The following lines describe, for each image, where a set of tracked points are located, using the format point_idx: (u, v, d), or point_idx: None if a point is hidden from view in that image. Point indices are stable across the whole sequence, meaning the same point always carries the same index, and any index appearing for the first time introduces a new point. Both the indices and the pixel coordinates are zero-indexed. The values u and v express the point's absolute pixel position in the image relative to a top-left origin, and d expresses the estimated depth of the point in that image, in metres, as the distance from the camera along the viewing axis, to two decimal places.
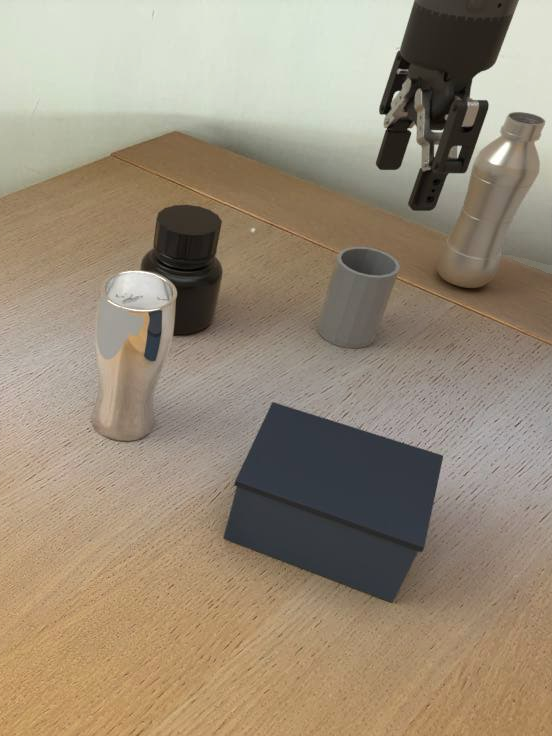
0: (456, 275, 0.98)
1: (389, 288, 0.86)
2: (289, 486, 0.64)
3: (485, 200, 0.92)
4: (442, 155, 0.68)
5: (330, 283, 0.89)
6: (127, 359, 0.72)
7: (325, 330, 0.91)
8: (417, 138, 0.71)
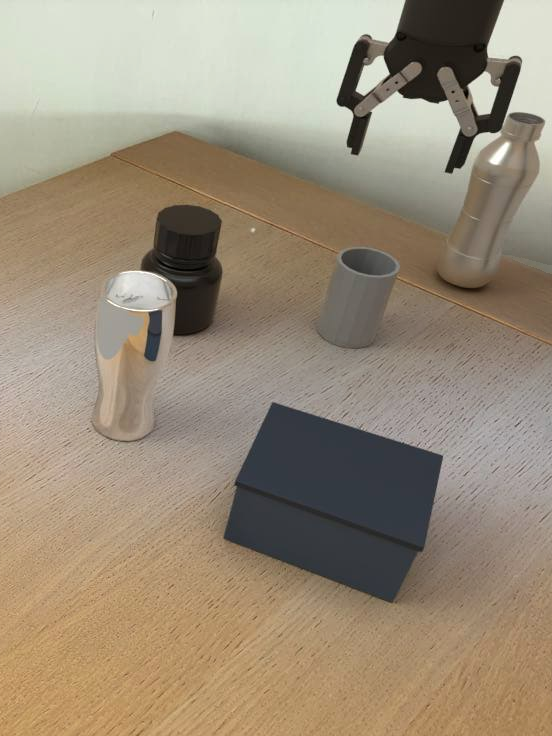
0: (456, 275, 0.98)
1: (389, 288, 0.86)
2: (289, 486, 0.64)
3: (485, 200, 0.92)
4: None
5: (330, 283, 0.89)
6: (127, 359, 0.72)
7: (325, 330, 0.91)
8: (454, 111, 0.73)
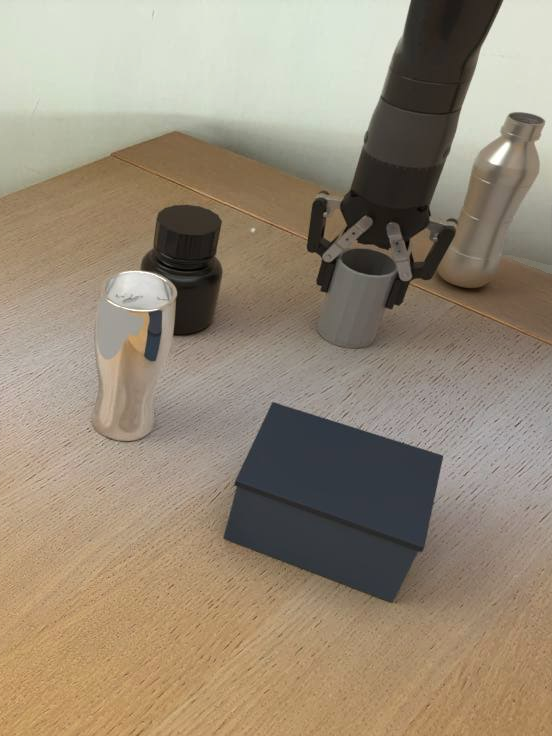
0: (456, 275, 0.98)
1: (389, 288, 0.86)
2: (289, 486, 0.64)
3: (485, 200, 0.92)
4: (437, 267, 0.82)
5: (330, 283, 0.89)
6: (127, 359, 0.72)
7: (325, 330, 0.91)
8: (395, 259, 0.83)
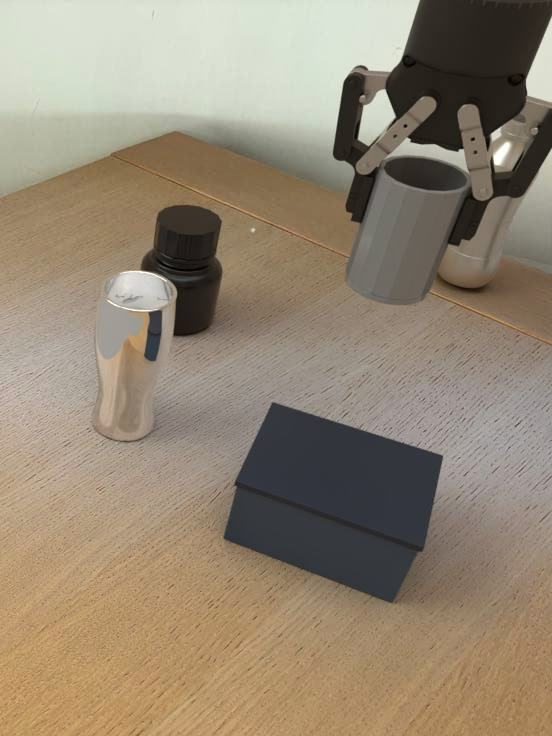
0: (456, 275, 0.98)
1: (456, 212, 0.57)
2: (289, 486, 0.64)
3: None
4: None
5: (366, 208, 0.60)
6: (127, 359, 0.72)
7: (357, 279, 0.62)
8: (469, 164, 0.55)
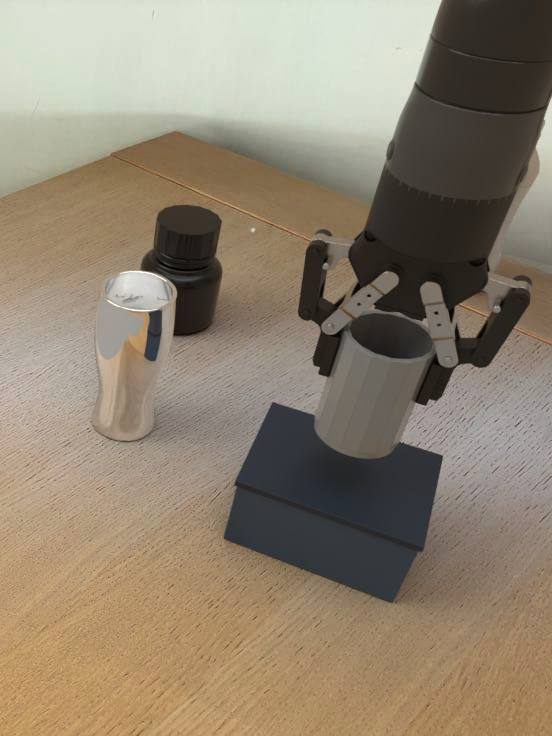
0: None
1: (422, 376, 0.57)
2: (289, 486, 0.64)
3: None
4: (498, 350, 0.53)
5: (333, 364, 0.60)
6: (127, 359, 0.72)
7: (326, 431, 0.62)
8: (433, 335, 0.54)
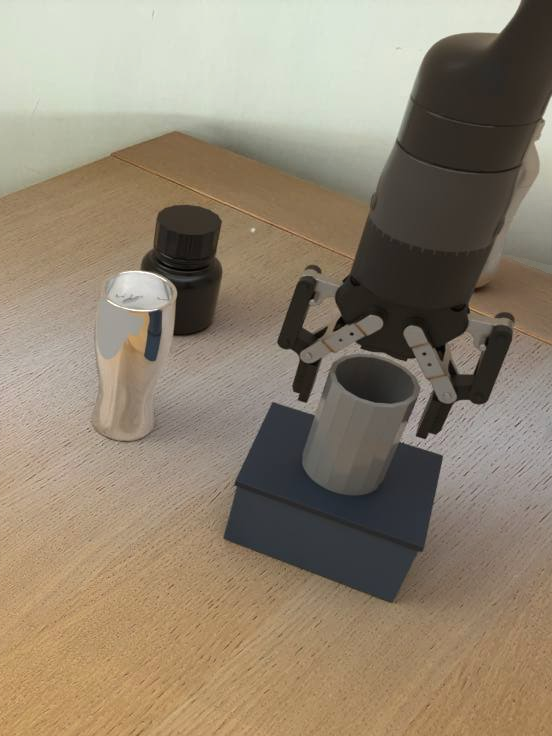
0: None
1: (404, 419, 0.59)
2: (289, 486, 0.64)
3: None
4: (493, 386, 0.55)
5: (320, 406, 0.63)
6: (127, 359, 0.72)
7: (313, 468, 0.64)
8: (427, 375, 0.56)
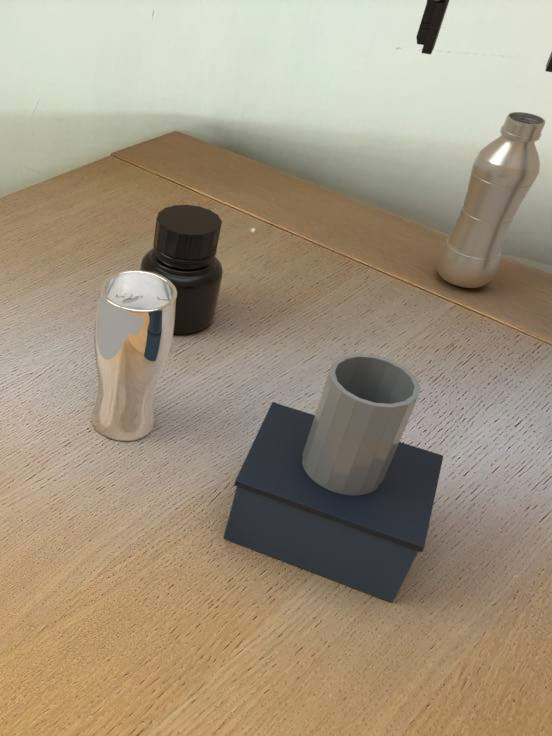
0: (456, 275, 0.98)
1: (404, 419, 0.59)
2: (289, 486, 0.64)
3: (485, 200, 0.92)
4: None
5: (320, 406, 0.63)
6: (127, 359, 0.72)
7: (313, 468, 0.64)
8: None
